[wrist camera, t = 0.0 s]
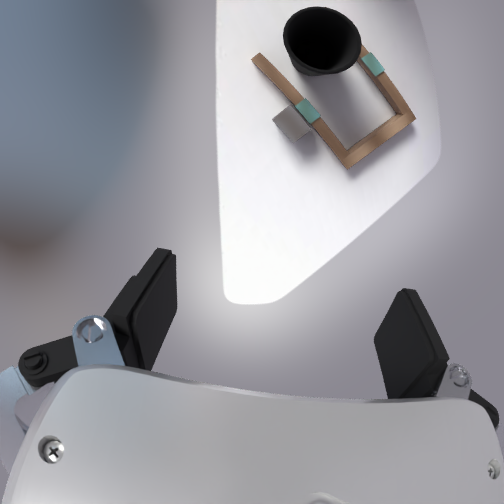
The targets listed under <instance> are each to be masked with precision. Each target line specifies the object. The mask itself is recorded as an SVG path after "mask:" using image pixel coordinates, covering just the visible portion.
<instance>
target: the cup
mask: <svg viewBox="0 0 504 504" xmlns="http://www.w3.org/2000/svg"><path fill="white" fill-rule="evenodd" d="M283 40H284V45H285V47H286V50H287V52H288V54H289V57H290V59H291V62H292V64H293V66H294V67H295V68H296V69H297V70H298V71H299V72H301V73H303V74H305V75H308V76H317V75H326V74H335V73H339V72H342V71H345V70H347V69H348V68H350V67H351V66H353V64H354V63H355V62H356V61H357V60H358V58H359V55H360V53H361V46H362V43H361V37H360V34H359V32H358V30H357V28H356V27H355V25H354V24H353V23H352V21H351V20H349V19H348V18H347V17H346V16H345V15H343V14H341V13H340V12H338V11H336V10H333V9H330V8H326V7H308V8H305V9H302V10H300V11H298V12H296V13H295V14H293V15H292V16H291V17H290V19H289V20H288V21H287V23H286V25H285V27H284V32H283Z"/></svg>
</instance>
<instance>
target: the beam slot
mask: <svg viewBox="0 0 504 504" xmlns="http://www.w3.org/2000/svg"><path fill="white" fill-rule="evenodd" d="M326 8H327V7H326ZM251 60H252V62H253V63H254V64H255V65H256V66H257V67H258V68H259V69H260V70H261V71H262V72H263V73H264V74H265V75H266V76H267V77H268V78H269V79H270V80H271V81H272V82H273V83H274V84H275V85H276V86H277V87H278V88H279V89H280V90H281V91H282V92H283V93H284V94H285V96H286V97H287V98H288V99H289V100H290V101H291V102H292V103H293V104H294V105H295V107H296V108H297V109H298V111H299V112H300V113H301V114H302V115H303V116H304V117H305V119H306V120H307V121H308V122H309V123H310V124H311V125H312V126H313V127H314V129H315V130H316V131H317V132H318V133H319V135H320V136H321V137H322V138H323V140H324V141H325V142H326V143H327V145H328V146H329V147H330V148H331V150H332V151H333V152H334V153H335V155H336V156H337V157H338V159H339V160H340V161H341V163H342V164H343V165H344V166H345V167H346V169H347V170H348V169H349V168H350V167H352V166H353V165H354V164H356V163H357V162H358V161H360V160H361V159H362V158H364V157H365V156H366V155H368V154H369V153H370V152H372V151H373V150H375V149H376V148H377V147H379V146H380V145H381V144H383V143H384V142H385V141H387V140H388V139H389V138H391V137H392V136H394V135H395V134H396V133H398V132H399V131H400V130H402V129H403V128H404V127H406V126H407V125H409V124H410V123H411V122H413V121H414V120H415V119H416V117H415V116H414V114H413V113H412V111H411V109H410V108H409V106H408V105H407V103H406V102H405V100H404V99H403V97H402V96H401V94H400V93H399V91H398V90H397V88H396V87H395V86H394V84H393V83H392V81H391V80H390V79H389V77H388V76H387V75H386V73H385V72H384V70H385V69H384V68H383V67H382V65H381V64H380V63H379V62H378V60H377V59H376V58H375V57H374V55H373V54H372V53H371V52H370V53H369V52H368V51H367V50H366V48H365V47H364V46H363V45H362V46H361V53H360V55H359V58H358V60H357V62H358V63H359V64H360V65H361V66H362V68H363V69H364V70H365V71H366V73H367V74H368V75H369V76H370V78H371V79H372V80H373V82H374V83H375V84H376V86H377V87H378V88H379V90H380V91H381V92H382V94H383V95H384V96H385V98H386V99H387V101H388V102H389V104H390V105H391V106H392V108H393V109H394V111H395V112H396V115H395V116H393V117H392V118H391V119H389V120H388V121H386V122H385V123H384V124H382V125H381V126H380V127H378V128H377V129H375V130H374V131H373V132H371V133H370V134H369V135H367V136H366V137H365V138H363V139H362V140H361V141H359V142H358V143H356V144H355V145H354V146H352V147H351V148H350V149H348V150H346V149H345V148H344V146H343V145H342V144H341V143H340V141H339V140H338V139H337V137H336V136H335V135H334V134H333V132H332V131H331V130H330V128H329V127H328V126H327V125H326V124H325V122H324V121H323V120H322V119H321V117H320V116H321V115H320V114H319V113H318V112H317V111H316V110H315V108H314V107H313V106H312V105H311V104H310V103H309V101H308V100H307V99H306V98H305V99H304V98H303V97H302V95H301V94H300V93H299V92H298V91H297V90H296V89H295V88H294V87H293V86H292V85H291V83H290V82H289V81H288V80H287V79H286V78H285V77H284V76H283V75H282V74H281V73H280V72H279V71H278V70H277V69H276V68H275V67H274V66H273V65H272V64H271V63H270V62H269V61H268V60H267V59H266V58H265V57H264V56H263V55H262V54H261V53H258V54H257V55H256V56H255V57H253V58H252V59H251ZM272 120H273V121H274V122H275V124H276V125H277V126H278V127H279V128H280V129H281V130H282V131H283V132H284V134H285V135H286V136H287V137H288V138H289V139H290V140H291V142H292V143H295V142H296V141H297V140H298V139H300V138H301V137H302V136H304V135H305V134H306V133H307V132H309V131H310V130H311V128H310V127H309V126H308V124H307V123H306V122H305V121H304V120H303V119H302V118H301V116H300V115H299V114H298V113H297V112H296V111H295V110H294V108H293V107H292V106H291V105H289V106H288V107H287V108H285V109H284V110H283V111H282V112H280V113H279V114H278V115H277V116H275V117H274V118H273V119H272Z"/></svg>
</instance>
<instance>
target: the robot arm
mask: <svg viewBox="0 0 504 504" xmlns="http://www.w3.org/2000/svg"><path fill="white" fill-rule="evenodd" d="M176 311H177V285H176V255H174V254H172V251H171V250H167V249H162V248H157V249H156V250H155V251H154V253H153V254H152V256H151V257H150V258H149V259H148V261H147V262H146V263H145V265H144V266H143V268H142V269H141V270H140V272H139V273H138V274H137V276H132V277H131V278H130V279H129V281H128V282H127V283H126V285H125V286H124V288H123V289H122V290H121V292H120V293H119V295H118V296H117V297H116V299H115V300H114V302H113V303H112V305H111V306H110V308H109V309H108V310H107V312H106V313H105V315H104V316H103V317H102V316H98V315H91V316H86V317H84V318H82V319H80V320H79V321H77V323H76V324H75V325H74V327H73V330H72V336H68V337H65V338H62V339H59V340H56V341H52V342H49V343H46V344H43V345H40V346H37V347H33V348H31V349H28V350H27V351H26V352H24V353H23V354H22V356H21V357H20V360H19V364H18V366H17V367H16V368H14V366H11V367H10V368H8V369H6V370H5V371H3V372H2V373H0V460H1V462H2V464H3V466H4V467H5V469H6V471H7V473H8V474H9V479H8V482H7V486H6V489H5V493H4V496H3V501H2V504H504V426H503V425H502V424H500V425H498V424H499V415H498V411H497V409H496V408H495V407H494V406H493V405H492V404H490V403H489V402H488V401H486V400H485V399H484V398H482V397H481V396H480V395H478V394H477V393H476V392H474V391H473V390H472V389H471V385H472V379H471V376H470V374H469V372H468V371H467V370H466V369H465V368H464V367H463V366H461V365H459V364H456V363H453V364H450V365H447V361H448V360H449V356H448V354H447V351H446V349H445V347H444V345H443V343H442V340H441V338H440V336H439V334H438V332H437V330H436V328H435V326H434V324H433V322H432V320H431V318H430V316H429V314H428V312H427V310H426V308H425V306H424V304H423V303H422V301H421V299H420V297H419V295H418V293H417V292H416V290H413V289H406V288H403V289H402V290H401V291H399V292H398V293H397V295H396V297H395V299H394V301H393V303H392V305H391V307H390V308H389V310H388V312H387V314H386V316H385V318H384V320H383V322H382V323H381V325H380V327H379V329H378V331H377V332H376V334H375V337H374V344H375V347H376V351H377V355H378V359H379V363H380V367H381V371H382V375H383V379H384V383H385V388H386V392H387V396H388V399H332V398H315V397H300V396H291V395H281V394H272V393H264V392H256V391H249V390H242V389H236V388H230V387H224V386H219V385H213V384H208V383H203V382H198V381H193V380H188V379H184V378H179V377H174V376H170V375H166V374H162V373H158V372H153V371H151V370H152V367H153V365H154V362H155V360H156V358H157V355H158V353H159V351H160V348H161V346H162V343H163V341H164V339H165V337H166V334H167V332H168V330H169V327H170V325H171V323H172V321H173V318H174V316H175V314H176Z"/></svg>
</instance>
